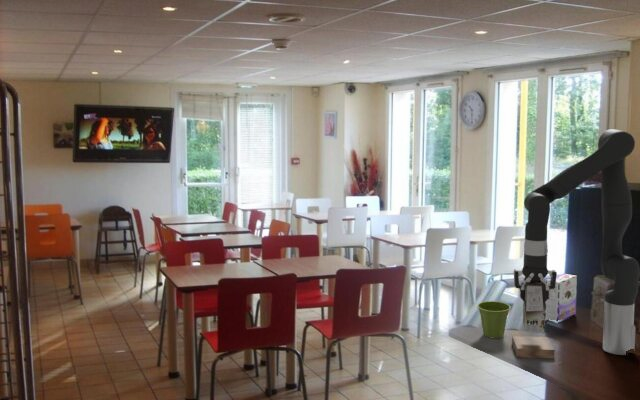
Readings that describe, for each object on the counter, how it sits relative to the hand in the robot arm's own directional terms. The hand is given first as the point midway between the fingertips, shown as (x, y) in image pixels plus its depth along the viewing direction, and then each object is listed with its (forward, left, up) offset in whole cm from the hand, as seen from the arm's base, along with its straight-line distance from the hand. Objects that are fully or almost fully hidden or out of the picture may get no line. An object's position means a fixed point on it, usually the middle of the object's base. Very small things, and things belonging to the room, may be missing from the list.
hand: (534, 300), depth 225 cm
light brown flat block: (0, 0, -18) cm, 18 cm away
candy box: (-17, -37, -18) cm, 44 cm away
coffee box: (0, 0, -10) cm, 10 cm away
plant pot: (+11, -15, -18) cm, 26 cm away
